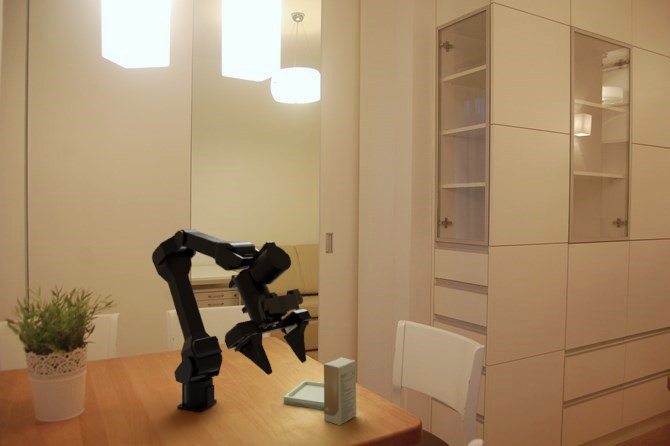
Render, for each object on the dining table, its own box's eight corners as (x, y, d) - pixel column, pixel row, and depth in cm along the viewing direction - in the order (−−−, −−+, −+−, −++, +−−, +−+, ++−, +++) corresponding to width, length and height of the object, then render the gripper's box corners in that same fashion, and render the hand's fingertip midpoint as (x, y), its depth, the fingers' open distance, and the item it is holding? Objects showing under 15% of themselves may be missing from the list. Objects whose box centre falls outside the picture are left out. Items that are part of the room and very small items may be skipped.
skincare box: (341, 411, 104) (341, 356, 104) (357, 416, 101) (357, 360, 101) (322, 420, 99) (322, 363, 99) (338, 426, 96) (338, 367, 96)
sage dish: (283, 403, 108) (283, 396, 108) (304, 386, 119) (304, 380, 119) (331, 410, 104) (331, 403, 104) (349, 392, 115) (349, 386, 115)
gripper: (241, 280, 83) (277, 361, 77) (311, 271, 97) (345, 339, 92) (210, 310, 88) (241, 387, 83) (280, 298, 103) (310, 363, 97)
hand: (288, 367), depth 88 cm, fingers open, 9 cm apart
